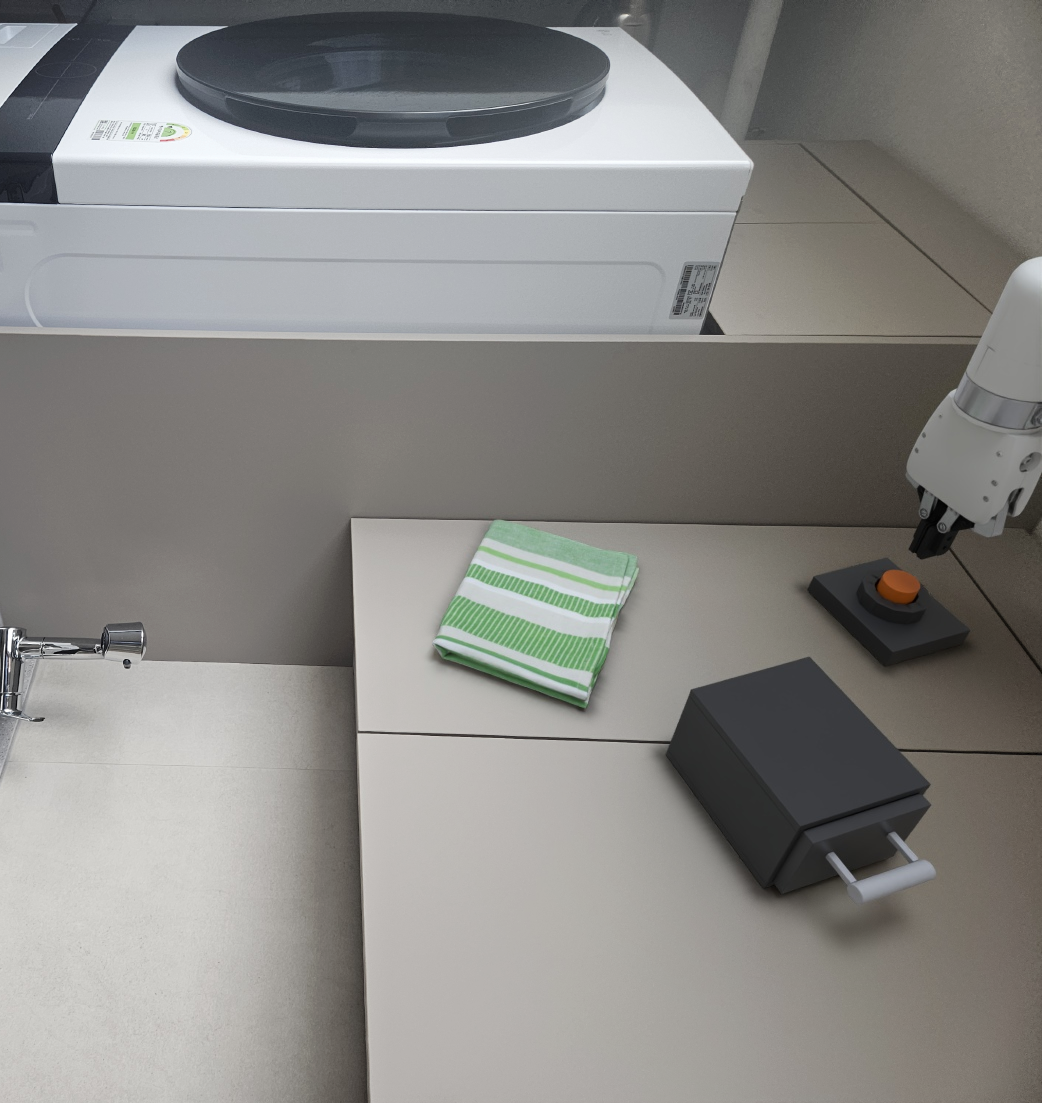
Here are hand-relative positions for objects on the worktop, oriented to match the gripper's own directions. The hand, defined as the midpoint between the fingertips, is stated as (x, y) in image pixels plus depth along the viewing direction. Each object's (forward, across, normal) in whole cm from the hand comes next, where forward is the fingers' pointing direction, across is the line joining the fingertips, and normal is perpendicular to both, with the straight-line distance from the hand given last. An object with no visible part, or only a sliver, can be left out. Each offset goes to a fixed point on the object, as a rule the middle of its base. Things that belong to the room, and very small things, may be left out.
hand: (926, 551), depth 98 cm
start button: (+6, +1, +1) cm, 6 cm away
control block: (+10, +1, +1) cm, 10 cm away
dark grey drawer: (+9, -19, +27) cm, 34 cm away
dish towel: (+9, +13, +36) cm, 40 cm away
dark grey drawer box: (+10, -15, +27) cm, 32 cm away
